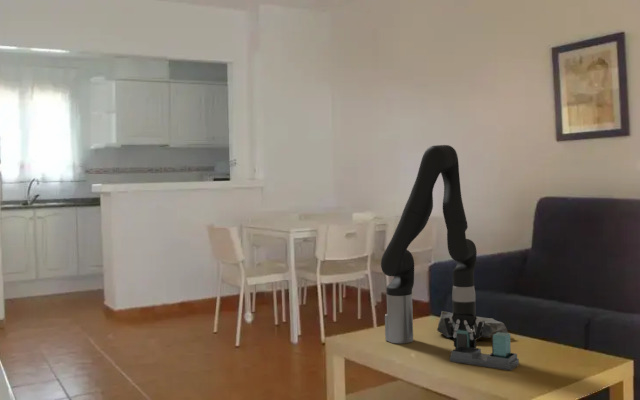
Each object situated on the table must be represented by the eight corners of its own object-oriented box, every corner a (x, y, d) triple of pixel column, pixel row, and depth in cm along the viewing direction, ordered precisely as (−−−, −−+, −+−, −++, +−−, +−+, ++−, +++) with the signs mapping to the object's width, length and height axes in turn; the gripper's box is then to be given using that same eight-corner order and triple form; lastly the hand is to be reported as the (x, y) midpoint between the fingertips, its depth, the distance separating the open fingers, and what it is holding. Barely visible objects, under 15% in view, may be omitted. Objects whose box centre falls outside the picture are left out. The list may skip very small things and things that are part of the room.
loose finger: (456, 354, 226) (455, 330, 225) (462, 351, 229) (461, 327, 229) (467, 355, 223) (467, 331, 223) (473, 352, 227) (472, 329, 226)
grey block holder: (450, 361, 217) (449, 330, 217) (459, 356, 223) (458, 326, 222) (510, 370, 205) (510, 338, 205) (518, 364, 211) (518, 333, 210)
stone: (437, 307, 264) (503, 307, 260) (438, 328, 265) (504, 328, 260) (436, 320, 241) (508, 320, 237) (436, 343, 242) (509, 344, 237)
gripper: (439, 299, 227) (440, 349, 227) (479, 302, 218) (480, 355, 219) (449, 295, 233) (450, 344, 234) (488, 298, 224) (489, 349, 225)
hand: (465, 349), depth 226 cm, fingers open, 4 cm apart
